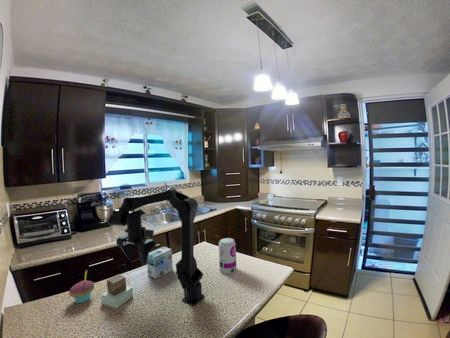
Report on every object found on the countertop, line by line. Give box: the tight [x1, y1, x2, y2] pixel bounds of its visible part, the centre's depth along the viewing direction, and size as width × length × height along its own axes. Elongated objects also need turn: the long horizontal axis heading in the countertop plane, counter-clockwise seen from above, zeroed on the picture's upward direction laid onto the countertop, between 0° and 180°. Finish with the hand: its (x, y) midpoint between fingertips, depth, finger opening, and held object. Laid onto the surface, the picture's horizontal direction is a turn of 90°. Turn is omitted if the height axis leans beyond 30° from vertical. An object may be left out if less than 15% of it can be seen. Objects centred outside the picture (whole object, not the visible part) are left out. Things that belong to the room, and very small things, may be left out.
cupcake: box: [68, 268, 95, 304], centre depth 88 cm, size 9×8×12 cm
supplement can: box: [218, 237, 238, 275], centre depth 106 cm, size 8×8×15 cm
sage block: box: [100, 285, 134, 309], centre depth 87 cm, size 8×8×4 cm
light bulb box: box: [146, 246, 174, 280], centre depth 107 cm, size 11×7×11 cm, turn 143°
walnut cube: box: [106, 273, 127, 296], centre depth 87 cm, size 5×5×5 cm
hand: (137, 262), depth 91 cm, fingers open, 9 cm apart
